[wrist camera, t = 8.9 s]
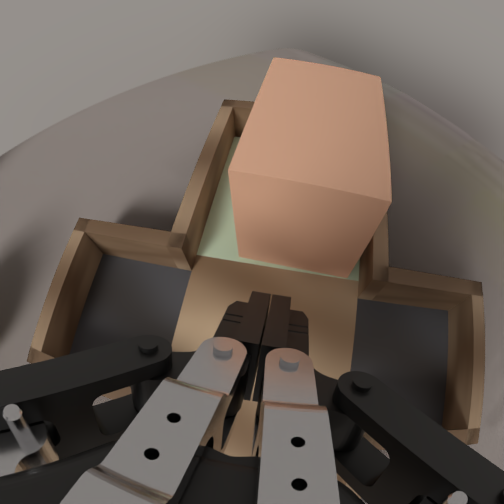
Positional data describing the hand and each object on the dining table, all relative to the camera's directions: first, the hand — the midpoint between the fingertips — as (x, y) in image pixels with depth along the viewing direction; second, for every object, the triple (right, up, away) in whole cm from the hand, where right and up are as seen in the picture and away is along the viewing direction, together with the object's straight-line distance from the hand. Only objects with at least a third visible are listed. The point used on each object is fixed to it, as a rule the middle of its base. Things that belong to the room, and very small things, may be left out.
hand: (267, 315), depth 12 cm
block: (+3, +6, +7) cm, 9 cm away
